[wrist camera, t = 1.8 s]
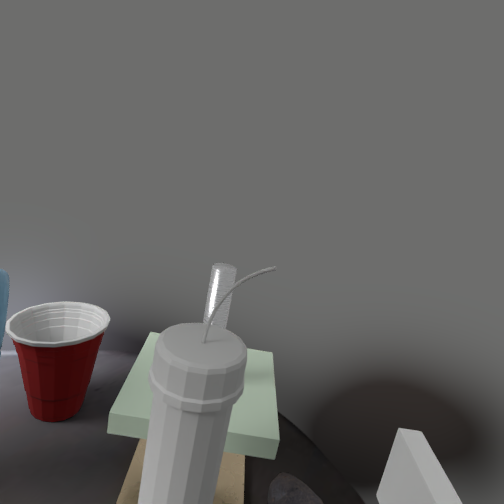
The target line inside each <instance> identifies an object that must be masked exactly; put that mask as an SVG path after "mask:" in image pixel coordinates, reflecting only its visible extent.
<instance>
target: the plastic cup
mask: <svg viewBox="0 0 504 504" xmlns="http://www.w3.org/2000/svg"><path fill="white" fill-rule="evenodd" d="M109 322H110V317H109V315H108V313H107V311H105V310H103V309H101V308H100V307H98V306H95V305H91V304H87V303H82V302H55V303H46V304H41V305H37V306H33V307H29V308H27V309H25V310H22V311H20V312H18V313H16V314H14V315H13V316H12V317H11V318H10V319H9V320H8V321H7V322H6V333H7V335H9V336H10V337H11V339H12V340H13V343H14V345H15V347H16V352H17V353H18V357H19V362H20V367H21V373H22V378H23V383H24V388H25V391H26V394H27V400H28V406H29V409H30V412H31V414H32V415H33V416H34V417H35V418H36V419H39V420H41V421H46V422H56V421H62V420H65V419H68V418H70V417H72V416H74V415H75V414H76V413H77V412H78V411H79V409H80V407H81V405H82V403H83V401H84V397H85V394H86V390H87V387H88V384H89V382H90V379H91V375H92V371H93V368H94V364H95V360H96V357H97V353H98V349H99V346H100V344H101V340H102V337H103V335H104V331H105V330H106V328H107V326H108V324H109Z"/></svg>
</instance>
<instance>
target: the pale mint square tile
mask: <svg viewBox="0 0 504 504" xmlns="http://www.w3.org/2000/svg"><path fill="white" fill-rule="evenodd" d="M159 335H160V334H159V333H154V332H150V334H149V336H148V338H147V340H146V342H145V344H144V346H143V348H142V350H141V352H140V354H139V356H138V358H137V359H136V361H135V363H134V365H133V367H132V369H131V371H130V373H129V375H128V377H127V379H126V381H125V383H124V385H123V387H122V389H121V391H120V393H119V395H118V396H117V398H116V400H115V402H114V404H113V406H112V408H111V410H110V412H109V419H108V428H107V433H109V434H116V435H122V436H128V437H134V438H141V439H147V435H148V428H149V421H150V414H151V407H152V400H153V392H152V391H151V388H150V385H149V381H148V375H149V370H150V367H151V365H152V363H153V357H154V350H155V344H156V342H157V339H158V337H159ZM279 441H280V438H279V426H278V414H277V404H276V390H275V379H274V367H273V354H272V353H271V352H264V351H259V350H254V349H248V348H247V363H246V368H245V373H244V389H243V394H242V395H241V397H240V398H239V399H238V400H237V402H236V403H235V404H233V407H232V412H231V417H230V422H229V427H228V432H227V436H226V441H225V446H224V451H223V452H229V453H235V454H242V455H248V456H254V457H261V458H267V459H273V460H275V457H276V453H277V449H278V445H279Z"/></svg>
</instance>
